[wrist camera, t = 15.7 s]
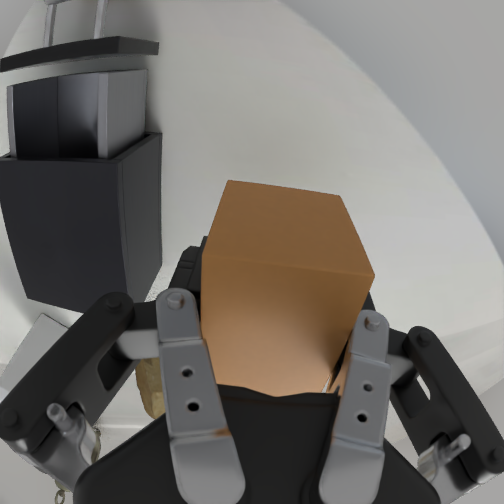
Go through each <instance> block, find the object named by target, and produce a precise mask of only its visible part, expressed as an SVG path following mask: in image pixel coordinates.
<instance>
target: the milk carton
mask: <svg viewBox="0 0 504 504" xmlns="http://www.w3.org/2000/svg"><path fill="white" fill-rule="evenodd" d="M67 330H68V329H67V328H66V327H64V326H62V325H61V324H59V323H57V322H56V321H54V320H52V319H51V318H49V317H47V316H46V315H44V314H41V315H40V316H39V318H38V319H37V321H36V322H35V324H34V325H33V327H32V328H31V330H30V331H29V333H28V334H27V336H26V337H25V339H24V340H23V342H22V343H21V345H20V346H19V348H18V349H17V351H16V353H15V354H14V356H13V357H12V359H11V361H10V362H9V364H8V365H7V367H6V369H5V370H4V372H3V374H2V376H1V377H0V403H1V402H2V401H3V399H4V398H5V397H6V396H7V395H8V394H9V393H10V391H11V390H12V389H13V388H14V387H15V386H16V385H17V383H18V382H19V381H20V380H21V379H22V378H23V377H24V376H25V375H26V373H27V372H28V371H29V370H30V369H31V368H32V367H33V366H34V365H35V364H36V363H37V361H38V360H39V359H40V358H41V357H42V356H43V355H44V354H45V353H46V352H47V351H48V350H49V349H50V348H51V347H52V346H53V344H54V343H55V342H56V341H57V340H58V339H59V338H60V337H61V336H62V335H63V334H64V333H65V332H66V331H67Z"/></svg>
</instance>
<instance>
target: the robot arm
mask: <svg viewBox="0 0 504 504" xmlns="http://www.w3.org/2000/svg"><path fill="white" fill-rule="evenodd" d="M207 238H208V236H204V237H203V240H202V243H201V246H200V247H196V246H190V247H188V248H187V249H186V250H185V251H183V253H182V255H181V257H180V261H179V262H178V265H177V267H176V270H175V272H174V274H173V277H172V279H171V282H170V284H169V287H168V289H166V290H164V291H162V292H161V293H160V294H159V295H158V296H157V298H156V300H154V301H150V302H140V303H133V299H132V298H131V297H130V296H129V295H128V294H126V293H123V292H110V293H107V294H105V295H103V296H102V297H100V298H99V299H98V300H97V301H96V302H95V303H94V304H93V305H92V306H91V307H90V308H89V309H88V310H87V311H86V312H85V313H84V314H83V315H82V316H81V317H80V318H79V319H78V320H77V321H76V322H75V323H74V324H73V325H72V326H71V327H70V328H69V329H68V330H67V331H66V332H65V333H64V334H63V335H62V336H61V337H60V338H59V339H58V340H57V341H56V342H55V343H54V344H53V346H52V347H51V348H50V349H49V350H48V351H47V352H46V353H45V354H44V355H43V356H42V357H41V358H40V359H39V360H38V361H37V363H36V364H35V365H34V366H33V367H32V368H31V369H30V370H29V371H28V372H27V373H26V375H25V376H24V377H23V378H22V379H21V380H20V381H19V382H18V383H17V385H16V386H15V387H14V388H13V389H12V390H11V391H10V393H9V394H8V395H7V396H6V397H5V398H4V399H3V401H2V402H1V403H0V438H1V439H3V440H4V441H5V442H6V443H7V444H8V445H9V447H10V448H11V449H12V450H13V451H14V452H16V453H17V454H18V455H19V456H20V457H21V458H23V459H24V460H25V461H26V462H28V463H29V464H31V465H33V466H34V467H35V468H37V469H38V470H39V471H41V472H43V473H45V474H48V475H50V476H51V477H52V478H53V479H55V480H56V481H57V482H59V483H60V484H61V485H63V486H64V487H65V488H67V489H68V490H69V491H71V492H72V493H73V504H450V503H451V502H453V501H454V500H456V499H458V498H459V497H461V496H463V495H465V494H467V493H469V492H471V491H473V490H474V489H476V488H478V487H479V486H481V485H483V484H485V483H486V482H488V481H489V480H491V479H493V478H494V477H496V476H498V475H499V474H501V473H502V472H504V440H503V438H502V436H501V434H500V433H499V431H498V429H497V428H496V426H495V424H494V422H493V421H492V419H491V417H490V416H489V414H488V412H487V411H486V409H485V408H484V406H483V404H482V403H481V401H480V400H479V398H478V396H477V395H476V393H475V392H474V390H473V389H472V387H471V386H470V384H469V382H468V381H467V379H466V378H465V376H464V375H463V373H462V372H461V370H460V369H459V368H458V366H457V365H456V363H455V362H454V360H453V359H452V357H451V356H450V354H449V353H448V352H447V350H446V349H445V347H444V346H443V345H442V343H441V342H440V340H439V339H438V338H437V336H436V335H435V334H434V333H433V332H432V331H431V330H429V329H427V328H425V327H422V326H415V327H413V328H411V329H410V331H409V332H408V334H406V333H403V332H400V331H397V330H394V329H391V328H389V323H388V321H387V319H386V318H385V317H384V316H383V315H381V314H380V313H378V312H376V310H375V307H374V304H373V301H372V298H371V295H370V292H368V295H367V297H366V300H365V302H364V304H363V307H362V309H361V311H360V313H359V316H358V318H357V320H356V322H355V325H354V327H353V329H352V331H351V333H350V336H349V338H348V340H347V342H346V344H345V346H344V348H343V350H342V353H341V355H340V357H339V359H338V361H337V363H336V365H335V367H334V369H333V371H332V373H331V376H330V379H329V383H328V386H327V390H326V393H315V392H305V393H299V394H293V395H287V396H280V397H275V396H271V395H268V394H264V393H261V392H258V391H255V390H252V389H249V388H246V387H240V386H231V385H223V384H217V383H216V379H215V375H214V370H213V366H212V362H211V358H210V353H209V349H208V345H207V341H206V339H205V338H203V335H202V331H201V326H200V321H201V269H202V253H203V250H204V247H205V244H206V241H207ZM158 357H159V361H160V371H161V380H162V389H163V397H164V405H165V413H163V414H162V415H161V416H159V417H158V418H157V419H155V420H154V421H153V422H151V423H150V424H149V425H147V426H146V427H144V428H143V429H142V430H140V431H139V432H138V433H136V434H135V435H133V436H132V437H131V438H129V439H128V440H126V441H125V442H124V443H122V444H121V445H119V446H118V447H116V448H115V449H114V450H112V451H111V452H109V453H108V454H106V455H105V456H103V457H102V458H100V459H99V460H97V461H96V462H95V463H93V464H92V462H91V454H92V451H93V449H94V447H95V444H96V435H95V432H94V430H93V429H92V426H93V425H94V424H95V422H96V421H97V420H98V418H99V417H100V415H101V414H102V413H103V411H104V410H105V409H106V407H107V406H108V404H109V403H110V402H111V400H112V399H113V398H114V396H115V395H116V394H117V392H118V391H119V390H120V388H121V387H122V385H123V384H124V383H125V381H126V380H127V379H128V377H129V376H130V375H131V373H132V372H133V371H134V369H135V368H136V367H137V365H138V364H139V363H140V361H141V360H142V359H147V358H158ZM419 375H420V376H421V377H422V379H423V381H424V382H425V384H426V386H427V387H428V389H429V391H430V401H429V399H428V398H427V396H426V394H425V392H424V391H423V389H422V387H421V386H420V384H419V382H418V381H417V377H418V376H419ZM389 399H390V401H391V403H392V405H393V407H394V409H395V411H396V413H397V415H398V417H399V418H400V420H401V422H402V424H403V426H404V428H405V430H406V432H407V434H408V436H409V438H410V440H411V442H412V444H413V446H414V448H415V450H416V452H417V454H418V456H419V458H418V467H417V469H415V468H414V467H413V466H412V465H411V464H410V463H409V462H408V461H407V460H406V459H405V458H404V457H403V456H402V455H401V454H400V453H399V452H398V451H397V450H396V449H395V448H394V447H393V446H392V445H391V444H390V443H389V442H388V441H387V440H386V439H385V438H384V434H385V427H386V420H387V413H388V405H389Z"/></svg>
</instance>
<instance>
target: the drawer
mask: <svg viewBox="0 0 504 504" xmlns="http://www.w3.org/2000/svg"><path fill="white" fill-rule="evenodd" d="M66 1H70V0H44V2H45V4H46V5H47V6H48V8H47V16H46V24H45V34H44V45H43V48H40V49H36V50H31V51H27V52H23V53H20V54H16V55H12V56H9V57H5V58H2V59H0V72H6V71H12V70H17V69H23V68H30V67H36V66H44V65H52V64H58V63H65V62H72V61H80V60H88V59H98V58H109V57H123V56H146V55H158V50H159V42H154V41H148V40H142V39H136V38H129V37H122V36H115V37H106V38H103V35H104V25H105V17H106V9H107V2H108V0H98V3H97V11H96V18H95V27H94V36H93V39H90V40H83V41H76V42H70V43H65V44H59V45H54V46H52V43H53V32H54V23H55V15H56V7H57V4H58V3H62V2H66ZM147 73H148V70H117V71H101V72H89V73H79V74H70V75H62V76H55V77H49V78H43V79H38V80H33V81H28V82H24V83H19V84H15V85H10V86H7V118H8V133H9V145H10V154H11V158H31V157H37V158H87V159H109V160H112V159H114V158H115V157H117V156H118V155H120V154H121V153H123V152H124V151H126V150H127V149H129V148H130V147H132V146H134V145H135V144H137V143H138V142H140V141H142V140H143V139H144V130H145V105H146V88H147Z"/></svg>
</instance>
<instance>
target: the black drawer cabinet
mask: <svg viewBox="0 0 504 504" xmlns="http://www.w3.org/2000/svg"><path fill="white" fill-rule="evenodd" d="M161 155H162V133H154V132H144V139H143V140H142V141H140V142H138V143H137V144H135V145H134V146H132V147H130V148H129V149H127V150H126V151H124V152H123V153H121V154H120V155H118V156H117V157H115V158H114V159H112V160H109V159H87V158H37V157H31V158H11V154H10V152H9V153H7V154H5V155H3V156H1V157H0V204H1V209H2V214H3V218H4V222H5V227H6V231H7V235H8V238H9V242H10V246H11V249H12V253H13V256H14V260H15V263H16V266H17V269H18V273H19V276H20V279H21V282H22V285H23V287H24V290H25V293H26V296H27V298H28V299H32V300H35V301H39V302H42V303H46V304H49V305H53V306H57V307H60V308H64V309H68V310H72V311H76V312H80V313H85V312H86V311H87V310H88V309H89V308H90V307H91V306H92V305H93V304H94V303H95V302H96V301H97V300H98V299H99V298H100V297H102V296H103V295H105V294H107V293H110V292H123V293H126V294H128V295H129V296H130V297H131V298H132V299H133V303H140V302H144V301H145V299H146V297H147V294H148V292H149V290H150V288H151V286H152V284H153V282H154V280H155V278H156V276H157V274H158V272H159V270H160V268H161V266H162V244H161Z"/></svg>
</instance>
